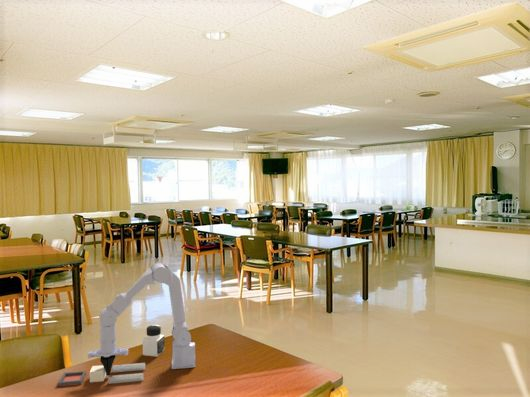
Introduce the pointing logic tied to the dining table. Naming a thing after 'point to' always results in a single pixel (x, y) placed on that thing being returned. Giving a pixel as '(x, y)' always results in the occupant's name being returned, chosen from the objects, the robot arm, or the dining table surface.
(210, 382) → the dining table surface
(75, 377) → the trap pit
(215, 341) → the dining table surface
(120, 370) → the channel
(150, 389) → the dining table surface
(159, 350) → the medicine bottle
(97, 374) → the block
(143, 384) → the dining table surface
